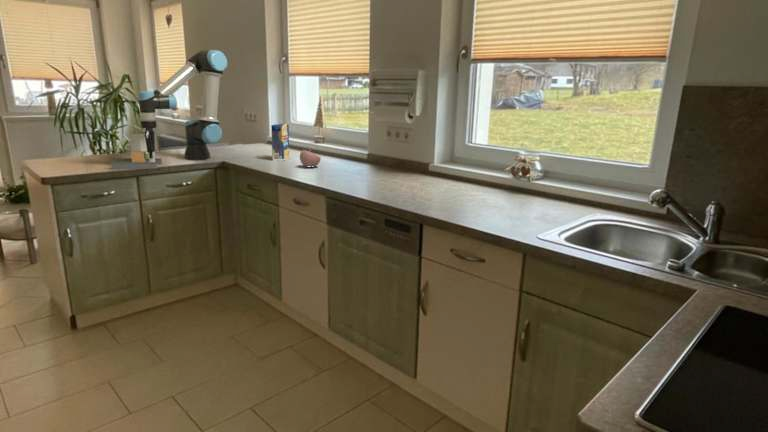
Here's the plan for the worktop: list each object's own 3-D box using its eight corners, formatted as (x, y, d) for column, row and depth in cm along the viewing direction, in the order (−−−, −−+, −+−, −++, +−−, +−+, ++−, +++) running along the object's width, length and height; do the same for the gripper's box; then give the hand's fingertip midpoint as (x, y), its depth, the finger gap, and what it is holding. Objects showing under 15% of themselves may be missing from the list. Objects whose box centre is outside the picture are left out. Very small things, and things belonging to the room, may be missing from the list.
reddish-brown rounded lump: (324, 168, 280) (324, 148, 277) (307, 169, 273) (306, 149, 270) (313, 165, 289) (313, 146, 286) (296, 166, 281) (295, 147, 278)
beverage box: (289, 159, 309) (288, 124, 303) (282, 161, 299) (281, 125, 293) (279, 158, 310) (278, 123, 304) (272, 160, 300) (271, 125, 294)
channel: (162, 164, 274) (161, 158, 274) (156, 168, 260) (155, 162, 259) (119, 164, 269) (119, 158, 269) (111, 168, 255) (110, 162, 254)
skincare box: (142, 162, 278) (139, 135, 274) (131, 161, 278) (128, 134, 274) (149, 160, 286) (147, 133, 282) (138, 159, 286) (135, 133, 282)
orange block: (147, 165, 268) (145, 151, 266) (144, 167, 263) (143, 152, 261) (135, 165, 267) (133, 151, 265) (132, 167, 261) (130, 152, 259)
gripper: (143, 119, 265) (147, 161, 271) (137, 121, 253) (142, 165, 259) (158, 119, 267) (161, 161, 273) (153, 121, 255) (157, 165, 261)
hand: (152, 163), depth 266 cm, fingers closed
